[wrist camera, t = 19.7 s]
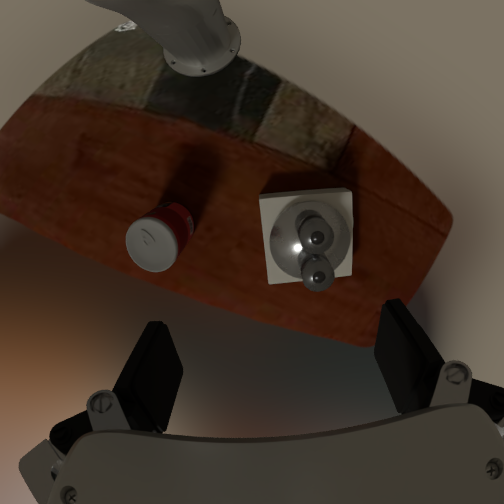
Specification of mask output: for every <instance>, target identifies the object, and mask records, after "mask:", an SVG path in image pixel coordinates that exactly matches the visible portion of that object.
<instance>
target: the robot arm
mask: <svg viewBox="0 0 504 504" xmlns="http://www.w3.org/2000/svg"><path fill="white" fill-rule="evenodd" d="M85 1H87V2H89V3H92V4H94V5H96V6H99V7H103V8H106V9H109V10H112V11H115V12H118V13H120V14H122V15H124V16H126V17H127V18H129V19H130V20H132V21H133V22H134V23H136V24H137V25H138V26H139V27H141V28H142V29H143V30H144V31H145V32H146V33H147V34H149V35H150V36H151V37H152V38H153V39H155V40H156V41H157V42H158V43H159V44H160V45H161V46H163V52H164V57H165V59H166V61H167V63H168V64H169V65H170V67H171V68H173V69H174V70H175V71H177V72H178V73H180V74H183V75H186V76H192V77H201V76H207V75H210V74H214V73H216V72H218V71H220V70H222V69H223V68H225V67H226V66H228V65H229V64H230V63H231V62H232V61H233V60H234V58H235V57H236V56H237V54H238V51H239V49H240V45H241V36H240V32H239V30H238V27H237V26H236V24H235V23H234V22H233V21H232V20H231V19H229V18H227V17H226V16H224V14H223V11H222V8H221V5H220V2H219V0H85ZM228 25H229V26H228ZM232 51H234V52H233V53H232ZM175 62H176V63H175ZM174 63H175V64H174ZM173 64H174V65H173ZM204 70H206V72H203V71H204ZM374 355H375V359H376V361H377V363H378V365H379V368H380V370H381V372H382V375H383V377H384V379H385V382H386V384H387V387H388V389H389V392H390V394H391V397H392V399H393V401H394V404H395V407H396V409H397V412H398V413H402V415H399V416H395V417H392V418H388V419H384V420H380V421H375V422H371V423H367V424H362V425H358V426H353V427H348V428H342V429H337V430H331V431H324V432H317V433H309V434H301V435H291V436H279V437H259V438H213V437H194V436H183V435H171V434H162V433H163V432H165V431H166V429H167V426H168V423H169V419H170V416H171V412H172V409H173V405H174V402H175V399H176V395H177V392H178V388H179V385H180V382H181V379H182V375H183V366H182V364H181V361H180V359H179V356H178V354H177V351H176V348H175V346H174V343H173V340H172V338H171V335H170V332H169V329H168V327H167V325H166V324H163V322H162V321H150V322H148V324H147V326H146V328H145V329H144V331H143V333H142V335H141V337H140V338H139V340H138V342H137V344H136V346H135V347H134V349H133V351H132V353H131V355H130V357H129V359H128V360H127V362H126V364H125V366H124V368H123V370H122V372H121V374H120V376H119V378H118V380H117V382H116V384H115V386H114V388H113V390H112V391H110V390H100V391H97V392H96V393H94V394H93V395H92V396H90V398H89V399H88V401H87V405H86V406H87V410H86V411H83V412H81V413H79V414H77V415H75V416H73V417H71V418H68V419H66V420H64V421H62V422H59V423H58V424H56V425H55V426H54V427H53V428H52V430H51V431H50V436H49V437H50V439H49V440H47V439H45V440H43V441H42V442H41V443H40V444H38V445H37V446H36V447H35V448H33V449H32V450H31V451H30V452H28V453H27V454H26V455H25V456H23V457H22V458H21V459H20V462H19V471H20V472H21V475H22V477H23V478H24V480H25V482H26V484H27V486H28V487H29V489H30V491H31V492H32V494H33V496H34V497H35V499H36V501H37V502H38V503H39V504H504V388H502V387H499V386H496V385H492V384H489V383H485V382H482V381H479V380H476V379H473V378H472V372H471V370H470V368H469V367H468V365H466V364H465V363H463V362H461V361H449V362H447V363H445V362H444V360H443V358H442V357H441V355H440V354H439V352H438V351H437V349H436V348H435V346H434V345H433V343H432V342H431V340H430V339H429V337H428V336H427V334H426V333H425V332H424V330H423V329H422V327H421V326H420V325H419V324H418V323H417V322H416V320H415V319H414V317H413V316H412V315H411V313H410V312H409V311H408V309H407V308H406V307H405V305H404V304H403V303H402V301H401V300H400V299H398V298H397V299H392V300H387V301H386V303H385V304H383V305H382V309H381V316H380V322H379V327H378V333H377V338H376V343H375V348H374Z"/></svg>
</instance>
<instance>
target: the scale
mask: <svg viewBox="0 0 504 504" xmlns="http://www.w3.org/2000/svg"><path fill="white" fill-rule="evenodd" d="M303 201H319V202H323V203H326V204H328V205H330V206H332V207H333V208H335V209H336V210H337V211H338V212H339V213H340V214H341V215H342V216H343V218H344V219H345V221H346V223H347V225H348V228H349V232H350V246H349V250H348V253H347V255H346V257H345V259H344V260H343V262H342V263H341V264H340V265H339V267H337V268H336V269H335V270H334V272H335V277H341V276H349V275H351V274H352V240H353V215H352V191H350V190H348V189H346V188H328V189H314V190H301V191H290V192H279V193H269V194H259V202H260V211H261V220H262V229H263V237H264V246H265V255H266V265H267V274H268V283H269V284H276V283H286V282H296V281H303V279H298V278H295V277H292V276H290V275H288V274H286V273H285V272H284V271H282V270H281V269H280V268H279V267H278V266H277V264H276V263H275V261H274V259H273V257H272V255H271V251H270V243H269V239H270V232H271V229H272V226H273V224H274V222H275V220H276V219H277V218H278V216H279V215H280V214H281V213H282V212H283V211H284V210H286V209H287V208H288V207H290V206H292V205H294V204H296V203H299V202H303Z"/></svg>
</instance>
